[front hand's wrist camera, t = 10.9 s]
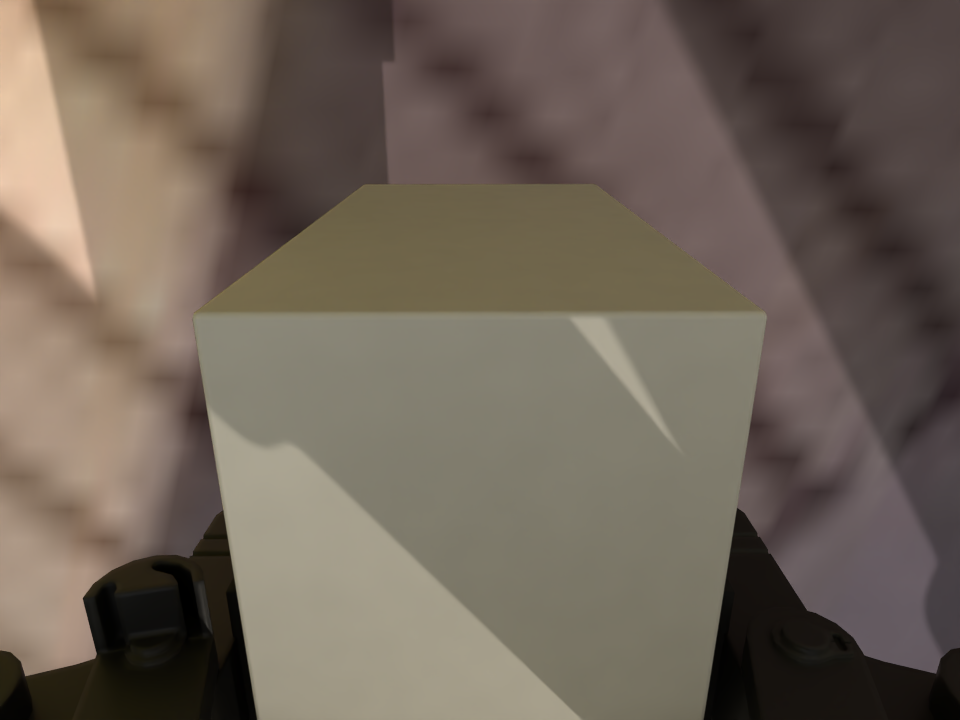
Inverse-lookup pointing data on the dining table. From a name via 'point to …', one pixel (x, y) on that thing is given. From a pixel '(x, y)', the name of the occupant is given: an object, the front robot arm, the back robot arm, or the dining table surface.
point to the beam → (479, 458)
